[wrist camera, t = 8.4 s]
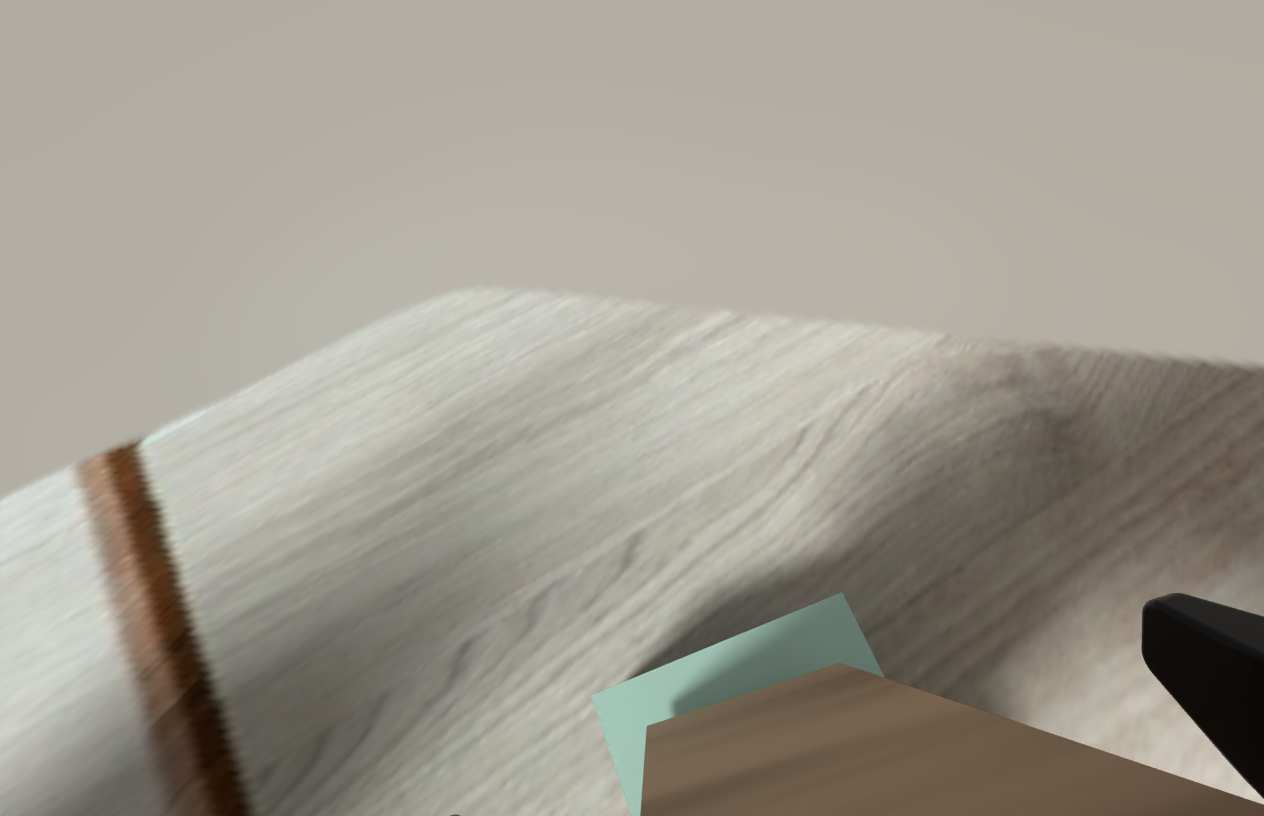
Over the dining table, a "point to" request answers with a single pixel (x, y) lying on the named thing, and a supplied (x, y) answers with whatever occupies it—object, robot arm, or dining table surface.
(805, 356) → the dining table surface
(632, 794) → the teal slab
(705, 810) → the walnut pillar block
